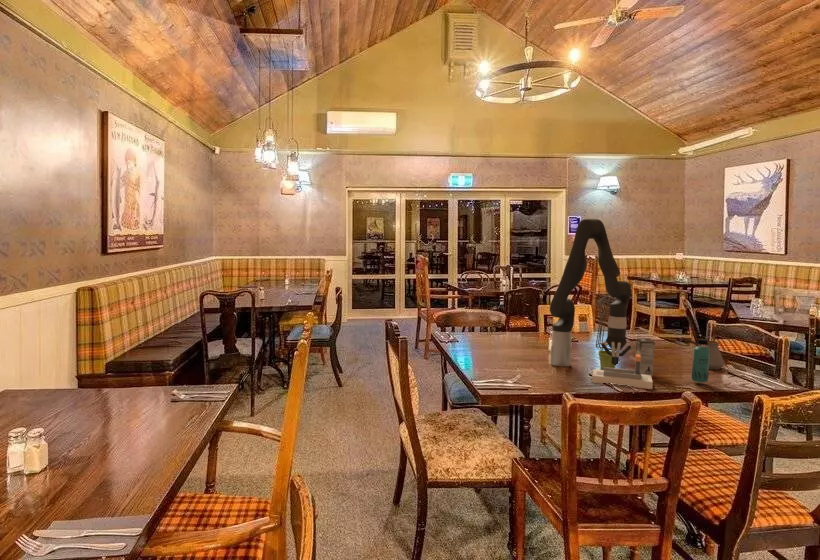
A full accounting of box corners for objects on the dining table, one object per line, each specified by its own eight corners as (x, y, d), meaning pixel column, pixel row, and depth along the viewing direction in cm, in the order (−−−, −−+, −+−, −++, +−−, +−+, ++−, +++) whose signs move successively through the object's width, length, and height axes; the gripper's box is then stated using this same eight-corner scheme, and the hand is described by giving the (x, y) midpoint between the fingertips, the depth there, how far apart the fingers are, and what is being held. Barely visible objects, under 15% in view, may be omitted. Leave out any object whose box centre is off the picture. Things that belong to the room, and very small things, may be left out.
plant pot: (621, 370, 244) (622, 352, 244) (613, 374, 238) (613, 355, 237) (602, 366, 251) (603, 349, 250) (593, 370, 244) (594, 352, 244)
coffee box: (634, 370, 245) (636, 337, 244) (648, 371, 244) (650, 338, 243) (638, 375, 236) (640, 341, 235) (653, 376, 235) (655, 342, 234)
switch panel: (592, 382, 223) (592, 371, 223) (593, 375, 235) (593, 364, 234) (652, 389, 215) (652, 377, 214) (650, 381, 226) (651, 370, 225)
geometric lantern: (595, 350, 288) (599, 289, 285) (625, 354, 281) (630, 291, 278) (592, 355, 274) (597, 291, 271) (623, 360, 267) (629, 294, 264)
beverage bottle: (687, 381, 227) (690, 337, 225) (701, 381, 227) (704, 337, 226) (697, 386, 220) (700, 340, 218) (711, 385, 221) (714, 340, 219)
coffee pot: (716, 364, 258) (718, 335, 257) (729, 370, 247) (731, 340, 246) (673, 363, 260) (675, 334, 258) (684, 369, 248) (686, 339, 247)
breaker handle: (633, 377, 220) (634, 356, 219) (633, 374, 225) (634, 353, 224) (641, 378, 219) (642, 357, 218) (640, 375, 224) (641, 354, 223)
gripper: (600, 326, 223) (598, 365, 224) (633, 329, 218) (631, 368, 219) (601, 323, 230) (599, 361, 231) (633, 326, 225) (630, 364, 226)
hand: (614, 364), depth 225 cm, fingers closed
